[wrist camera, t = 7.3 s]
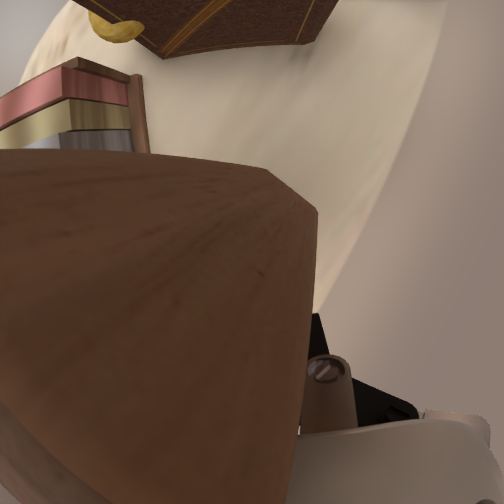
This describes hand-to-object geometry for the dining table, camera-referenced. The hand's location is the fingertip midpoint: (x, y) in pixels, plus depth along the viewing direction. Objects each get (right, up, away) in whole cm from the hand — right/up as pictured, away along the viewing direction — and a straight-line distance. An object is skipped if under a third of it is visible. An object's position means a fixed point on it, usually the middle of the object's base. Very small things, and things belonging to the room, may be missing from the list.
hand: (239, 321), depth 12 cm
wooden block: (0, +3, +8) cm, 8 cm away
